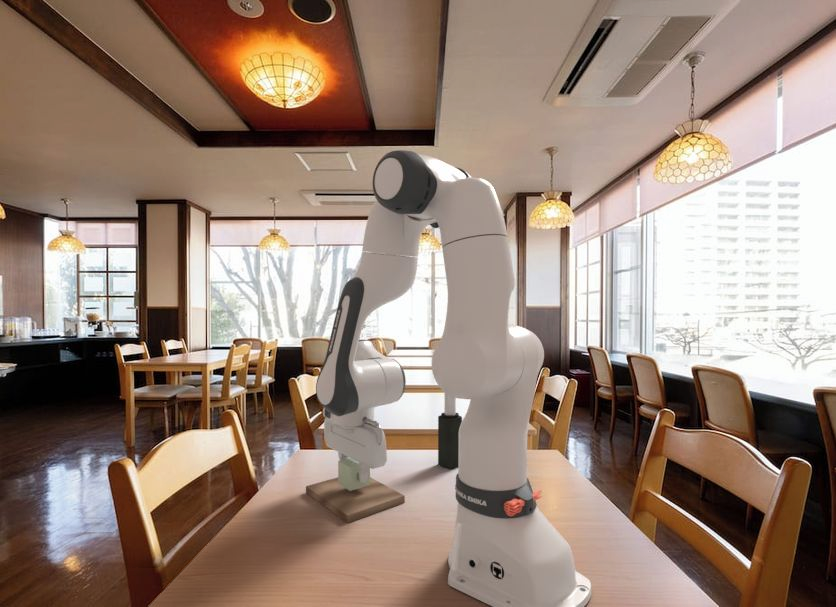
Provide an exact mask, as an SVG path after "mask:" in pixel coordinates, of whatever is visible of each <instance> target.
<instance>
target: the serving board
mask: <svg viewBox="0 0 836 607" xmlns="http://www.w3.org/2000/svg"><path fill="white" fill-rule="evenodd" d="M305 494H307V495H309V497H311V498H313V499H314V500H315V501H316V502H318V503H319V504H321V505H322V506H324V507H325V508H327V509H328V510H329V511H330V512H332V513H333V514H335V515H336V516H337V517H339V518H340V519H342V521H344V522H345V523H347V524H349V523H351V522H354V521H357V520H360V519H363V518H365V517H368V516H371V515H374V514H377V513H380V512H382V511H385V510H388V509H391V508H394V507H396V506H399V505H401V504H404V503H405V502H406V500H405V499H406V498H405V496H406V495H404V494H403V493H401V492H398V491H396V490H395V489H393V488H391V487H390V486H387V485H385V484H384V483H382V482H380V481H378V480H376V479H374V478H373V477H371V476H370V485H368V486H365V487H362V488H358V489H355V490H352V491H349V490H348V489H346V488H345V487H343V486H341V485H340V484H338V476H337V477H334V478H330V479H326V480H323V481H320V482H317V483H313V484H309V485H306V486H305Z"/></svg>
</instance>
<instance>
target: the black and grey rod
mask: <svg viewBox="0 0 836 607" xmlns="http://www.w3.org/2000/svg"><path fill="white" fill-rule="evenodd" d="M456 399H457V398H454V397H452V396H450V395H448V394H446V393H445V392H444V412H442V413H441V415H438V416H437V422H438V423H437V425H438V427H437V430H438V431H437V437H438V438H437V466H439V465H440V466H439V467H441V466H442V467H441V468H444V467H445V468H444V469H446V468H447V470H454V469H456V468H458V451H459V428H460V425H461V422H462V420H463V416H462V415H460V414H459V412H456V410H457V409H456V408H457V403H456ZM455 467H456V468H455Z"/></svg>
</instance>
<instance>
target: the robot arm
mask: <svg viewBox="0 0 836 607" xmlns="http://www.w3.org/2000/svg"><path fill="white" fill-rule="evenodd" d="M372 191H373V195H374V198H375V200H376V201H374V203H373V204H372V206H370V207H371V208H370V209H369V210H370V211H369V214H368V217H367V221H366V226H365V228H364V229H365V230H364V236H363V242H362V249H361V250H362V251H361V258H360V261H359V265H358V267H357V270H356V272H355V274H354V276H353V277H352V278H351V279H350V280H348V281H347V282H346V283H345V284H344V287H343V289H342V292H341V294H340V297H339V301H338V305H337V308H336V312H335V316H334V321H333V325H332V329H331V333H330V338H329V341H328V346H327V350H326V355H325V358H324V361H323V364H322V366H321V368H320V371H319V373H318V376H317V379H316V383H315V394H316V399H317V401H318V403H319V405H321V406H322V407H323V408H322V415H323V417H324V421H323V422H324V423H323V429H324V430H323V433H324V443H325V445H326V447H327V448H330V449H332V450H334V451H336V452H337V453H338V454H337V455H338V459H339V461H340V460H344V459H348V458H351V459H353V460H355V461H357V462H359V467H361V468H360V472H359V473H357V480H358V481H359V482H361V483H363V482H366V481H367V479H368V472H369V469H370V470H373V469H378V468H381V467H384V466H385V465H386V463H387V461H388V454H387V442H386V435H385V432H384V430H383V428H382V427H381V425H380V423H379V421H377V420H375V408H376V407H380V406H385V405H390V404H393V403H396V402H398V401H399V400H400V399H401V398H402V397H403V395H404V392H405V389H406V380H407V379H406V374H405V370H404V368H403V367H402V365H401V364H400V363H399V362H398V361H397V360H396V359H395V358H390V357H388V356H386V355H384V354H382V353H381V352H380V351H378V350H377V349H376V348H375V347H374V344H373V342H372V341H371V340H368V339H360V338H361V334H362V328H363V326H364V323H365V321H366V320H367V319H368V317H369V316H370V315H371V314H372V313H373V312H375V311H376V310H377V309H379V308H380V307H382V306H383V305H386V304H388V303H390V302H393V301H395V300H397V299H399V298H401V297H402V296H404V295H405V294H406V293H407V292H408V291H409V290H410V289H411V287H412V286H413V284H414V281H415V279H416V275H417V272H418V271H417V269H418V260H419V249H420V248H419V247H420V246H419V245H420V240H421V239H420V238H421V235H422V232H423V230H425V228H426V227H427V226H431V227H432V228H433V229H439V233H440V242H441V250H442V256H443V262H444V263H443V264H444V272H445V279H446V286H447V304H446V305H447V306H446V314H445V321H444V322H445V323H444V327H443V328H444V329H443V332H442V336H441V337H440V339H439V341H438V343H437V344H436V346H435V348H434V350H433V352H432V355H431V356H432V357H431V372H432V375H433V377H434V378H433V379H434V380H435V382H436V384H437V386H438V387H439V388H440V389H441V391H443V392H444V394H445V393H446V394H448V395H450V396H452V397H454V398H456V399H461V400H470V401H469V405H468V408H467V411H466V413H465V415H464V417H463V418H462V422H461V425H460V428H459V451H458V467H457V468H458V472H457V474H456V475H455V476H456V477H455V485H454V489H455V499H456V502H457V508H456V517H455V525H454V530H453V532H454V533H453V540H452V544H451V548H450V552H449V555H448V558H447V560H448V562H447V563H448V568H449V572H448V575H447V585H448V586H449V587H452V588H453V589H456V590H457V591H460V592H461V593H464V594H466V595H468V596H470V597H472V598H474V599H476V600H478V601H480V602H482V603H484V604H487V605H489V606H491V607H585V606H586V605H587V604H588V603H589V601H590V600H591V597H592V584H591V581H590V579H589V578H587V577H586V576H585V575H583V574H581V573H579V571H577V570H576V567H575V566H576V565H575V559H574V554H573V550H572V547H571V546H570V544H569V543H568V542H567V540H566V539H565V538H564V537H563V536H562V535H561V534H560V533H559V531H558V530H557V528H555V527H554V525H553V524H552V523H551V522H550V521H549V519H548V518H547V517H546V516H545V515H544V514H543V513H542V512H541V510H540V509H539V508H538V507H537V504H538V503H537V500H539V499H541V498H542V495H541V494H542V489H541V490H538V491H535V492H534V491H533V487H532V485H531V482H530V479H529V478H528V474H527V473H528V434H529V433H528V431H529V423H530V418H531V412H532V409H533V408H532V407H533V403H534V398H535V397H534V396H535V392H536V386H537V380H538V376H539V374H540V371H541V368H542V367H543V364H544V359H545V350H544V346H543V344H542V341H541V340H540V339H539V337H538V336H537V335H536V334H535V333H534V332H532V330H529V329H527V328H526V327H523V326H520V325H516V324H511V323H509V311H510V310H509V309H510V300H511V295H512V293H513V291H514V289H515V284H516V280H515V274H514V268H513V261H512V255H511V249H510V243H509V236H508V232H507V224H506V222H505V217H504V213H503V210H502V206H501V204H500V200H499V198H498V195H497V193H496V190H495V189H494V186H493V185H492V184H491V183H490V182H489V181H487V180H486V179H484V178H481V177H473V176H471V175H470V174H469V173H468V172H467V171H466V170H464V169H462V168H460V167H455V166H453V165H451V164H449V163H447V162H445V161H442V160H441V159H439V158H436V157H434V156H429V155H425V154H422V153H421V154H420V153H419V154H418V153H417V152H415V151H413V150H412V151H411V150H401V149H399V150H397V149H396V150H391V151H389V152H387V153H386V154H384V155H383V156H382V157H381V158H380V159H379V160H378V163H377V164H376V167H375V169H374V171H373V175H372Z"/></svg>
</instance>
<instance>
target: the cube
mask: <svg viewBox="0 0 836 607" xmlns="http://www.w3.org/2000/svg"><path fill="white" fill-rule="evenodd" d="M337 467H338V468H337V469H338V470H337V472H338V474H337V477H338V484H340V485H341V486H343V487H345V488H346V489H348V490H349V491H352V490H355V489H358V488H362V487H365V486H368V485H370V477H371V468H370V469H369V472H368V479H367V481H366V482H363V483H361V482H359V481H358V480H357V473H359V472H360V468H361V467H359V462H357V461H355V460H353V459H351V458H348V459H344V460H340V459H339V460H338V461H337Z"/></svg>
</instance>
